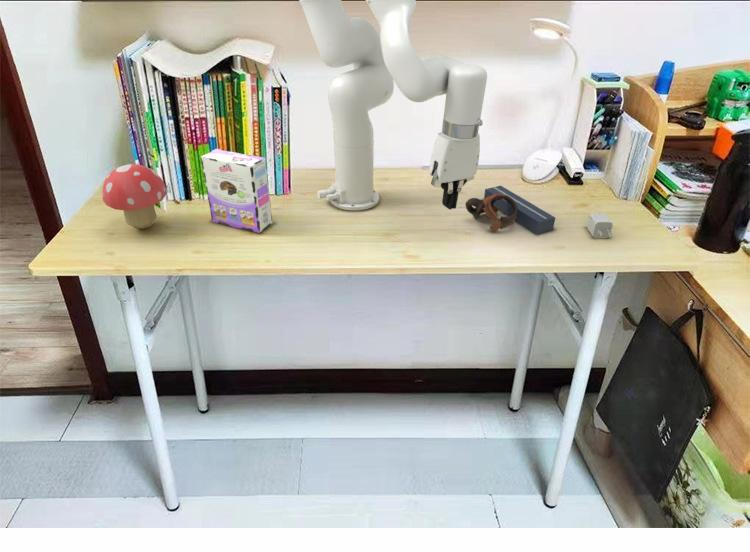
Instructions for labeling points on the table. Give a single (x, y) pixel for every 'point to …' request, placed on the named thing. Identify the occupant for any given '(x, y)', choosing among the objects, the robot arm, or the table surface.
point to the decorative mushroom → (134, 193)
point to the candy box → (237, 189)
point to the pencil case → (523, 211)
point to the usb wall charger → (599, 225)
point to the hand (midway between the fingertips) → (448, 206)
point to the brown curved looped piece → (492, 210)
